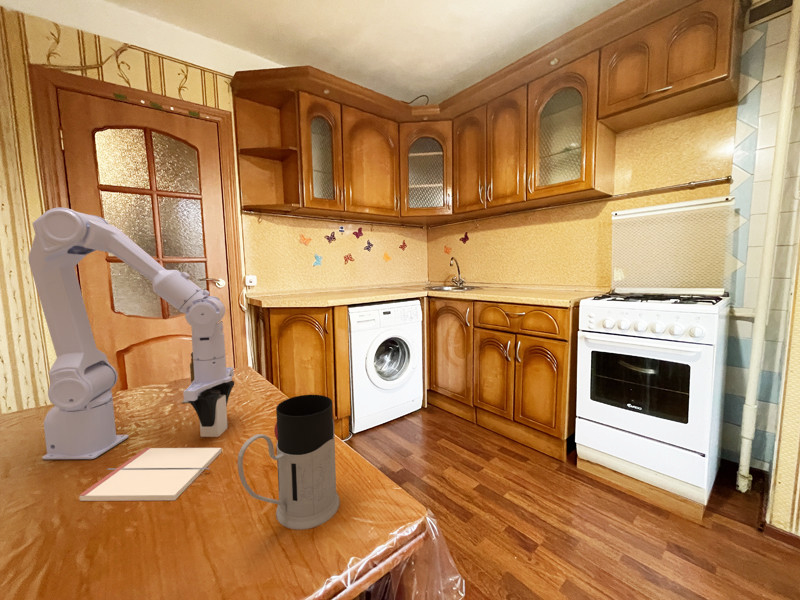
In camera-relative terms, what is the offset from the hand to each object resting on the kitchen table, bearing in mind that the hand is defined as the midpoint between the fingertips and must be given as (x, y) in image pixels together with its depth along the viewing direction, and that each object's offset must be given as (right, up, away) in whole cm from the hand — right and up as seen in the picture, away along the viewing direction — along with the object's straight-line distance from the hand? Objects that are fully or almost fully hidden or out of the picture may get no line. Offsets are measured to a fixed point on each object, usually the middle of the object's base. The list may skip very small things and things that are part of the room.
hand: (213, 421), depth 70 cm
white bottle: (0, -2, 0) cm, 2 cm away
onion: (+18, -3, -6) cm, 19 cm away
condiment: (-14, -1, +20) cm, 25 cm away
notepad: (-2, -4, -14) cm, 14 cm away
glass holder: (+24, -5, -24) cm, 34 cm away
